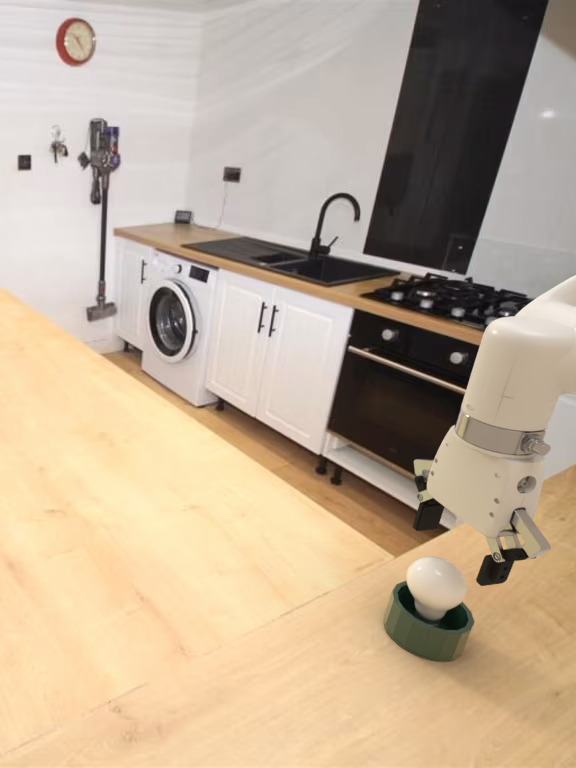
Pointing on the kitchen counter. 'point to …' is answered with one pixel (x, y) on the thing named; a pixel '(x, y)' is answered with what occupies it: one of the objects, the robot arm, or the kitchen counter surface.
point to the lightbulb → (435, 588)
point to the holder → (426, 628)
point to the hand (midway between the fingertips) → (455, 553)
